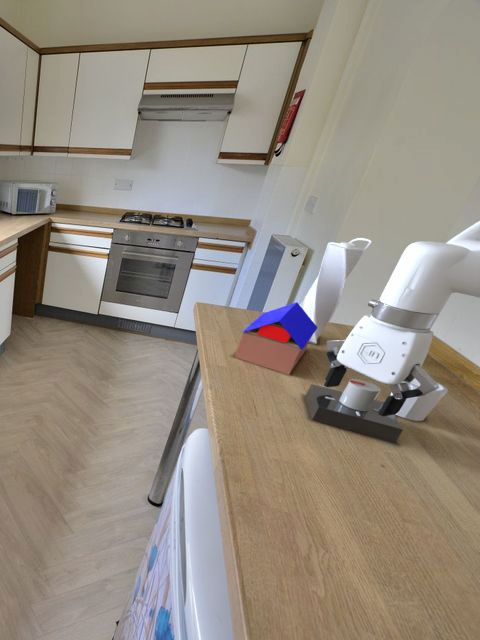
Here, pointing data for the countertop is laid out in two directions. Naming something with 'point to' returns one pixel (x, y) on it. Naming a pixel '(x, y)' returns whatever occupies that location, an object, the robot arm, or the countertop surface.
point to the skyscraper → (330, 283)
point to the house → (277, 338)
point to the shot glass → (421, 403)
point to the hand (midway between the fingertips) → (356, 399)
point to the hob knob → (359, 395)
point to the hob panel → (351, 415)
